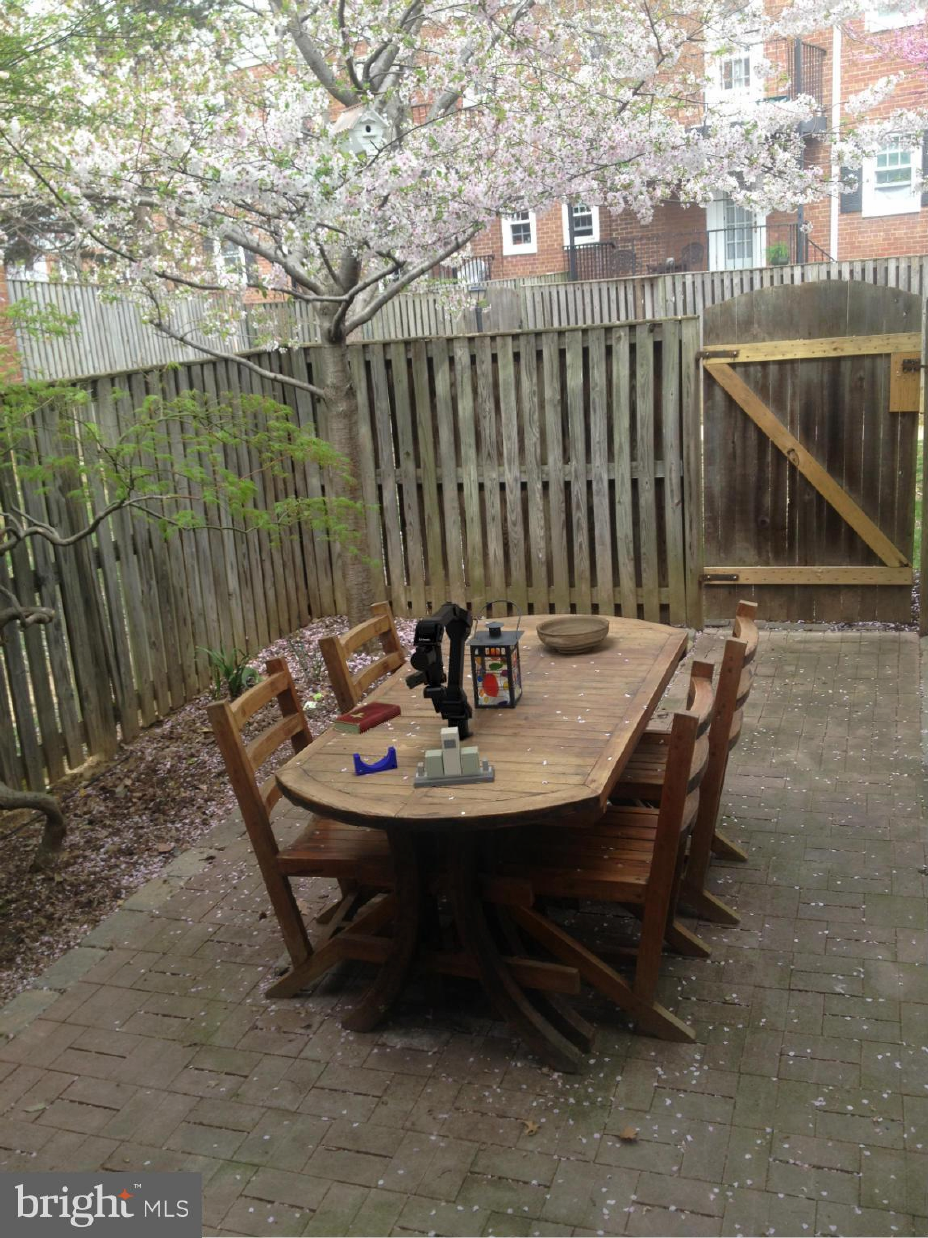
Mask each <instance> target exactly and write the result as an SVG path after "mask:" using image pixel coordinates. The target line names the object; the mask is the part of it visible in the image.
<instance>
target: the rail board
mask: <svg viewBox="0 0 928 1238" xmlns="http://www.w3.org/2000/svg"><path fill="white" fill-rule="evenodd" d="M460 753H461V763H462V772H461V774H456V775H445V770H444V760H443V751H442V748H441V749H429V750H428V749H427V750H425V755H424V760H425V761H423V762H421V761H420V762H417V765H416V767H417V770H416V771H415V775H414V779H413V780H414V781H413V788H414V789H419V788H418V787H424V786H437V787H447V786H446V785H448V786H460V785H459V784H462V785H471V784H470V783H475V784H478V783H477V782H487V783H494V782H495V781H494V779H495V768H494V767H495V766H494V764H489V759H488V758H489V757H488V756H487V757H486V756H485V757H482V758H481V764H482V765H481V764H480V756H479V755H480V754H479V746H477V745H476V746H467V747H465V746H464V747H461V749H460ZM424 763H425V764H424ZM424 788H425V787H424Z"/></svg>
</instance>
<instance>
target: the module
mask: <svg viewBox="0 0 928 1238" xmlns="http://www.w3.org/2000/svg"><path fill="white" fill-rule="evenodd" d="M440 739H441V740H440V741H441V749H442V753H443V762H444V770H445V775H456V774H461V772H462V758H461V746H460V740H459V734H458V727H451V728H448V727H442V728H441V730H440Z"/></svg>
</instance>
